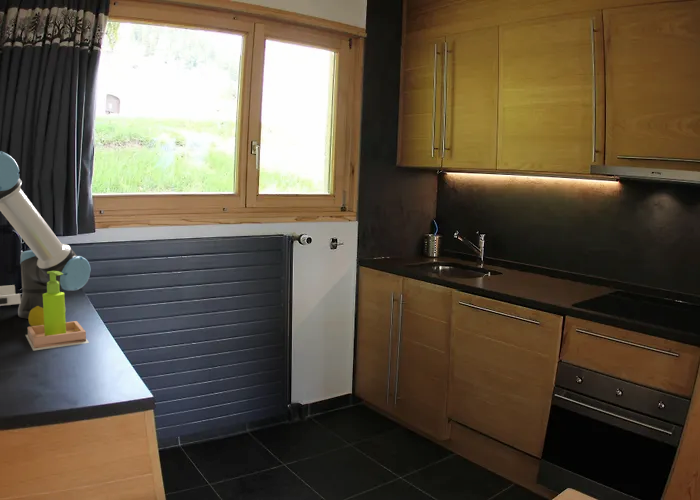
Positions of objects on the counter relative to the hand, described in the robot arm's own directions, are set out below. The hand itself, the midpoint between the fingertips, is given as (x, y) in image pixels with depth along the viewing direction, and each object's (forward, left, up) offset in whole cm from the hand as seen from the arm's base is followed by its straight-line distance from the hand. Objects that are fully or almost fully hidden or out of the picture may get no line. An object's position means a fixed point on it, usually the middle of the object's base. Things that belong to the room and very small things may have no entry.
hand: (17, 293), depth 181 cm
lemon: (-15, +7, -16) cm, 23 cm away
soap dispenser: (0, +10, -14) cm, 17 cm away
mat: (0, +10, -16) cm, 18 cm away
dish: (0, +10, -15) cm, 18 cm away
